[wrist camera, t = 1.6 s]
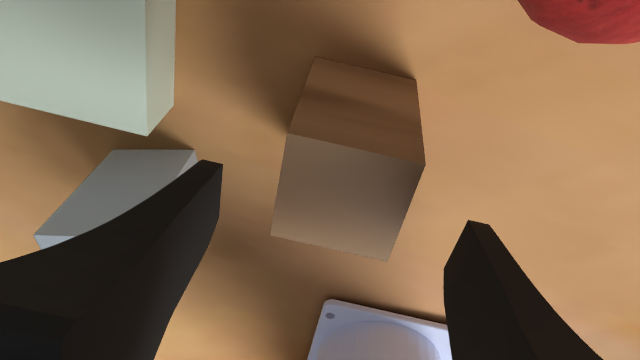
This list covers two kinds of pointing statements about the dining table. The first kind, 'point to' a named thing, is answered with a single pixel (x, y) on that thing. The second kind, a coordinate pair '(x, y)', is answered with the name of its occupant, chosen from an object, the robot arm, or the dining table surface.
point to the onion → (588, 19)
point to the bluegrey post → (114, 191)
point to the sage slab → (90, 59)
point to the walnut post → (350, 160)
